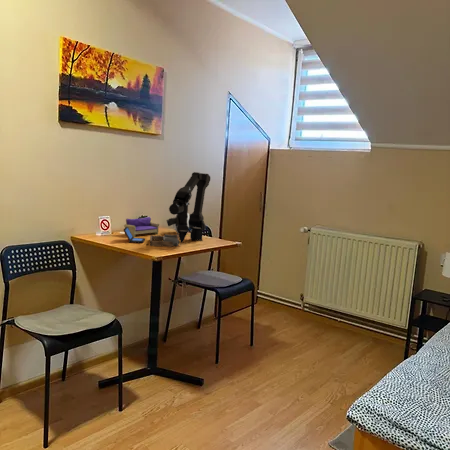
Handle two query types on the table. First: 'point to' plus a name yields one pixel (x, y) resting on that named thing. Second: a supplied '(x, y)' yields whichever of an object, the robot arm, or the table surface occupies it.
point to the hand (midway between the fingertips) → (181, 241)
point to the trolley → (172, 239)
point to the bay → (159, 241)
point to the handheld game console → (131, 238)
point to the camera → (176, 226)
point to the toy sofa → (141, 226)
